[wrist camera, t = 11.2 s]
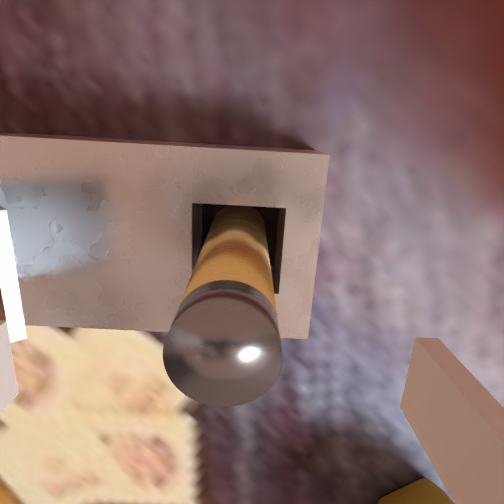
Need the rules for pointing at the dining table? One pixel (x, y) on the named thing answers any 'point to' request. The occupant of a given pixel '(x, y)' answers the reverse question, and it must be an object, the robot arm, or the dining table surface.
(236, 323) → the lynch pin
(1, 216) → the ring flap
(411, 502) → the flower pot
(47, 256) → the block
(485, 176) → the dining table surface
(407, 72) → the dining table surface
